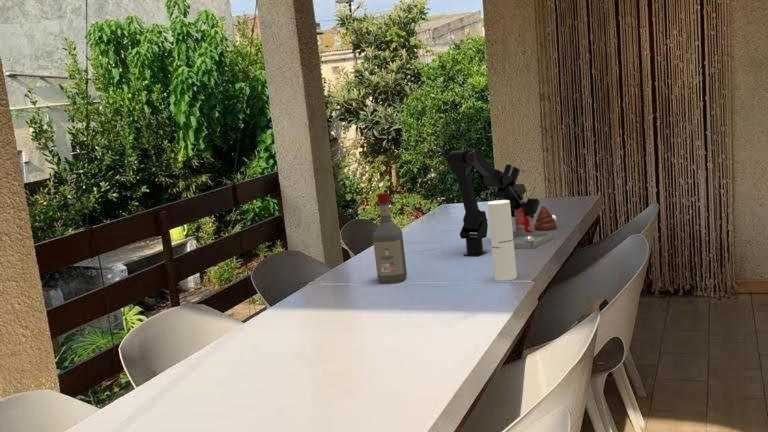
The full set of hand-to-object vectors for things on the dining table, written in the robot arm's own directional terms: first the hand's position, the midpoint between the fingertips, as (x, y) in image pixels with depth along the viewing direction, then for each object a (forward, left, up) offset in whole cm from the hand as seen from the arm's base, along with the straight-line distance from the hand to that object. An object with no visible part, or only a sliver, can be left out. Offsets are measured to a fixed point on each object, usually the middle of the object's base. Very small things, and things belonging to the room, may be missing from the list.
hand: (525, 217), depth 341 cm
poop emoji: (+10, -4, -7) cm, 13 cm away
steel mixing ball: (-21, -12, -6) cm, 25 cm away
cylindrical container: (-65, -25, -7) cm, 70 cm away
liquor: (-75, +13, -7) cm, 76 cm away
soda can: (-1, 0, -7) cm, 7 cm away
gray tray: (-16, -7, -7) cm, 19 cm away
